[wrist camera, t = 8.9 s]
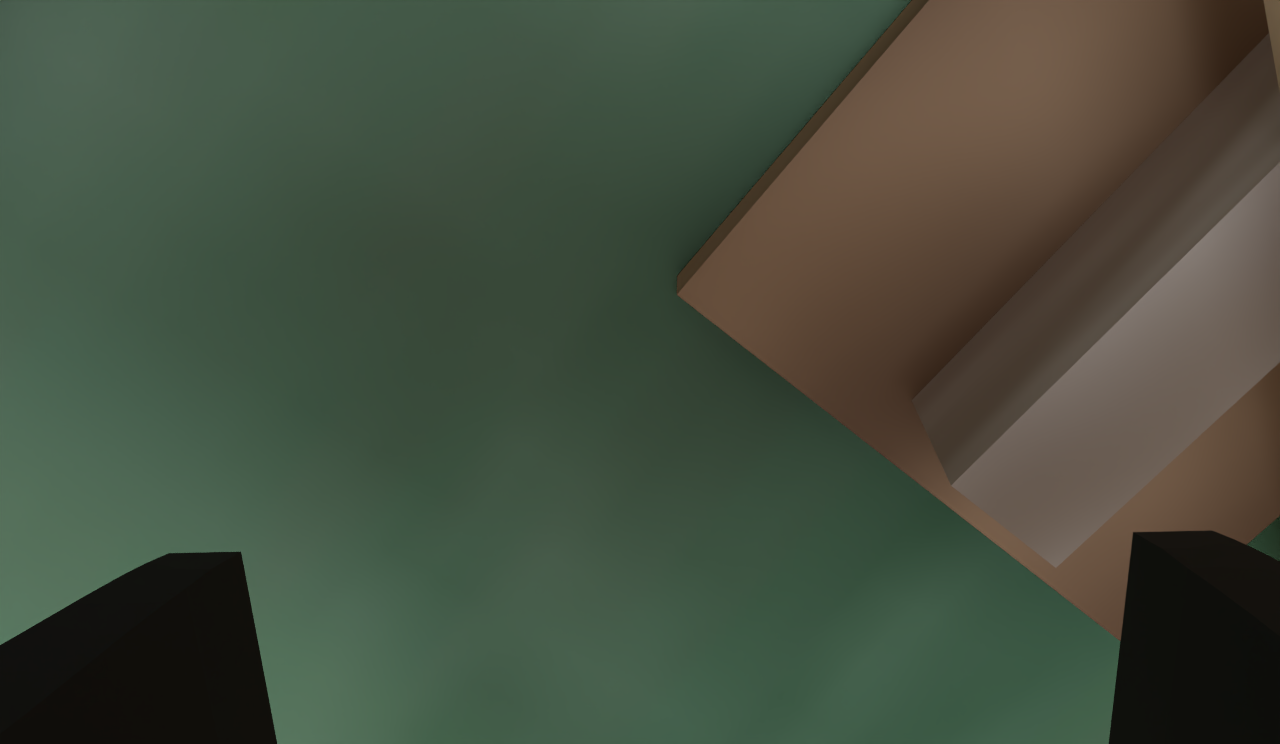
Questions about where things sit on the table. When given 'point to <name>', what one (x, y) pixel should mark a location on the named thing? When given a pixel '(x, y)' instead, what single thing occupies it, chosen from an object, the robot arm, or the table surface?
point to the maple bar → (1274, 31)
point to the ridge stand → (1036, 272)
